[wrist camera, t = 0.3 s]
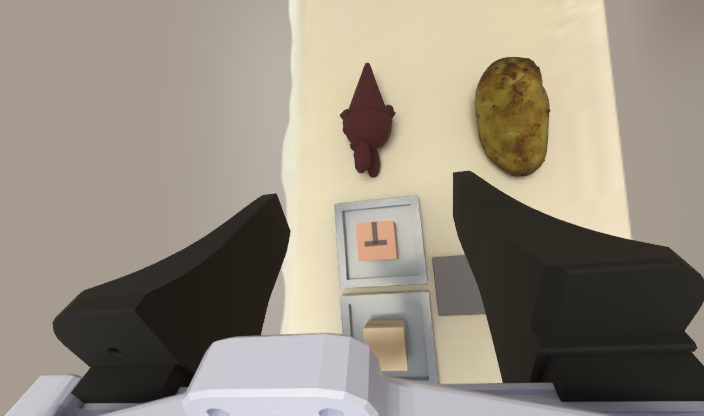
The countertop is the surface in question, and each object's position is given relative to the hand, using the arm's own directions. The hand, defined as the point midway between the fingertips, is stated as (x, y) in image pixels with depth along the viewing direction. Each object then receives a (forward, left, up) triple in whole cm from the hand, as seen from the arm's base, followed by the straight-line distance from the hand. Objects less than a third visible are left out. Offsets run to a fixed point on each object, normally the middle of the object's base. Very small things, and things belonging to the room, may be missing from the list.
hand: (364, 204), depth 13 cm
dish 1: (0, +2, -29) cm, 29 cm away
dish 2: (-12, +2, -29) cm, 31 cm away
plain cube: (-12, +2, -28) cm, 31 cm away
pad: (-6, -8, -29) cm, 30 cm away
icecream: (+16, +2, -29) cm, 33 cm away
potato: (+13, -15, -29) cm, 35 cm away
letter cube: (0, +2, -28) cm, 28 cm away
